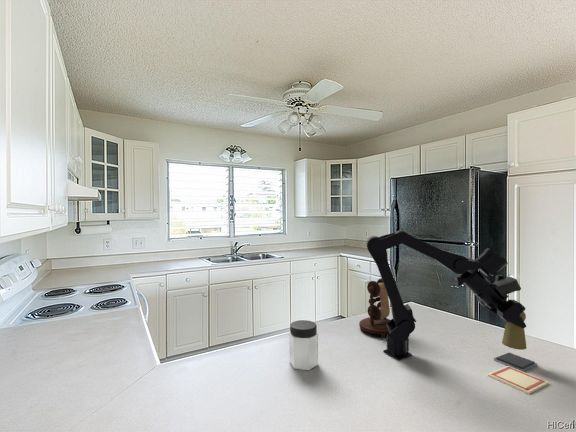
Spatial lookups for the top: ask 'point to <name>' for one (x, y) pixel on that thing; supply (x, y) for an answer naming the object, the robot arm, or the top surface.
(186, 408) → the top surface
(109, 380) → the top surface
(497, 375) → the print card
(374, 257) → the robot arm
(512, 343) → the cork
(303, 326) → the jar
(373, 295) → the brown wooden figurine
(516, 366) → the ink pad
